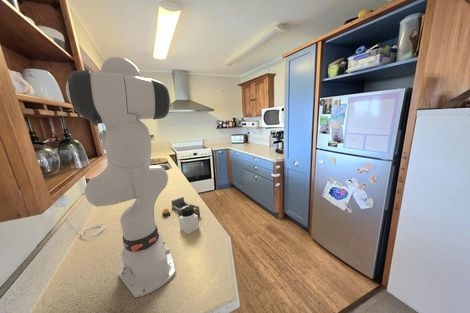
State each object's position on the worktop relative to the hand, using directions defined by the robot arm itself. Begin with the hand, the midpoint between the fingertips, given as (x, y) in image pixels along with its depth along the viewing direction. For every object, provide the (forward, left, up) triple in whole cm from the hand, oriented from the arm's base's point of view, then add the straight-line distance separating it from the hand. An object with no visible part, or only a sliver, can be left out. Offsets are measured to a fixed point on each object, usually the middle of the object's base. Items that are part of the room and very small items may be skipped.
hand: (129, 156), depth 90 cm
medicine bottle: (-23, -17, -39) cm, 48 cm away
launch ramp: (-10, -23, -39) cm, 46 cm away
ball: (0, -13, -36) cm, 38 cm away
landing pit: (+1, -23, -39) cm, 45 cm away
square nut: (0, -13, -39) cm, 41 cm away
